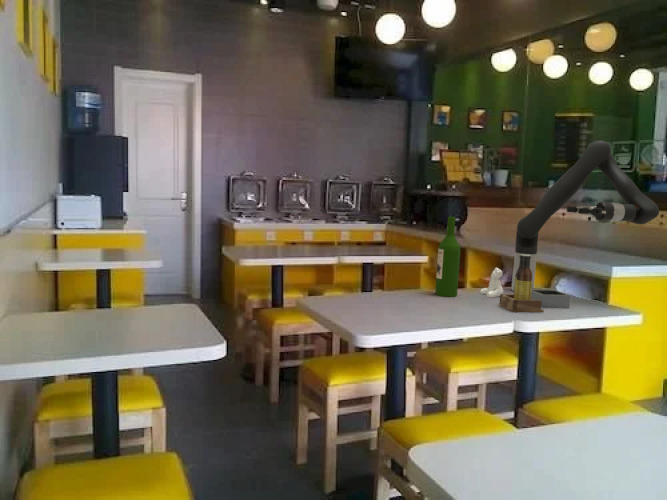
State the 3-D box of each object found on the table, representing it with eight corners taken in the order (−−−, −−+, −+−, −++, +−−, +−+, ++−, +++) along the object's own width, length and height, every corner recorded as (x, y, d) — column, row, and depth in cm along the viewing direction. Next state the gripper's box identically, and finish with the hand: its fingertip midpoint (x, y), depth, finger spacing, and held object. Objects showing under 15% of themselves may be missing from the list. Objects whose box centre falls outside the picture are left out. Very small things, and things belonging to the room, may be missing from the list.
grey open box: (527, 301, 251) (528, 289, 251) (554, 302, 254) (555, 290, 253) (541, 307, 241) (542, 295, 240) (569, 307, 243) (570, 295, 242)
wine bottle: (431, 293, 260) (436, 215, 256) (450, 292, 263) (455, 216, 259) (441, 297, 252) (447, 217, 248) (461, 296, 255) (467, 218, 251)
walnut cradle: (499, 305, 241) (500, 294, 240) (527, 305, 243) (528, 294, 243) (513, 312, 229) (514, 300, 229) (543, 312, 232) (544, 300, 231)
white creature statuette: (478, 293, 266) (481, 265, 264) (497, 293, 267) (500, 266, 266) (487, 297, 256) (490, 269, 255) (507, 298, 258) (509, 269, 256)
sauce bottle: (520, 304, 241) (524, 253, 238) (533, 307, 236) (538, 255, 233) (509, 305, 237) (513, 254, 234) (522, 308, 232) (527, 256, 229)
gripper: (600, 201, 258) (564, 199, 255) (621, 203, 244) (583, 201, 241) (598, 219, 258) (562, 218, 256) (619, 222, 245) (582, 220, 242)
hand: (573, 210), depth 248 cm, fingers open, 8 cm apart
